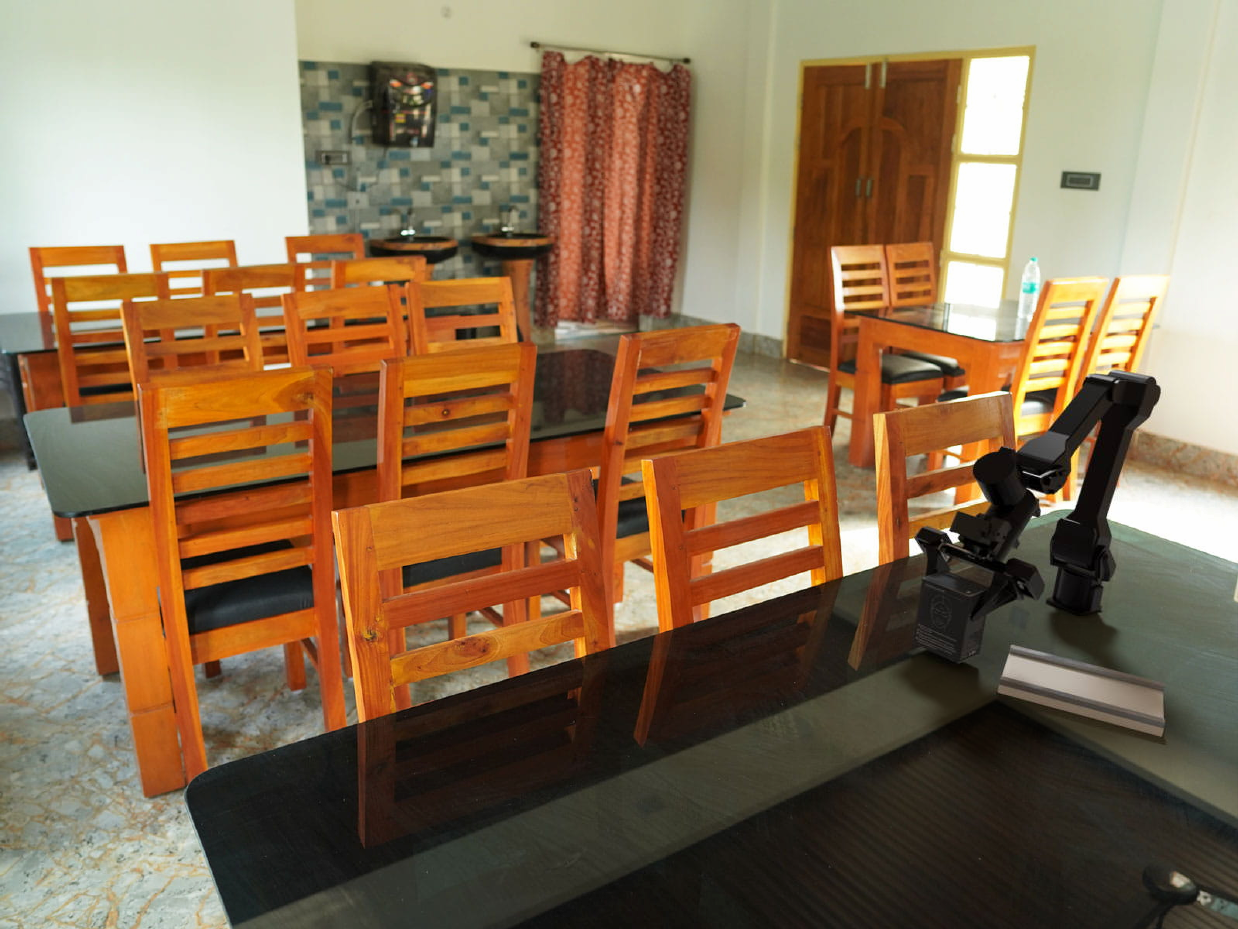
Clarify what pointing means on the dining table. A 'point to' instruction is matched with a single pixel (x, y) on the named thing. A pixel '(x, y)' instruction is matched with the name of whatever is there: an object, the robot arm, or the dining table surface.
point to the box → (949, 616)
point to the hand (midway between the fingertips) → (946, 609)
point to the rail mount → (1084, 689)
